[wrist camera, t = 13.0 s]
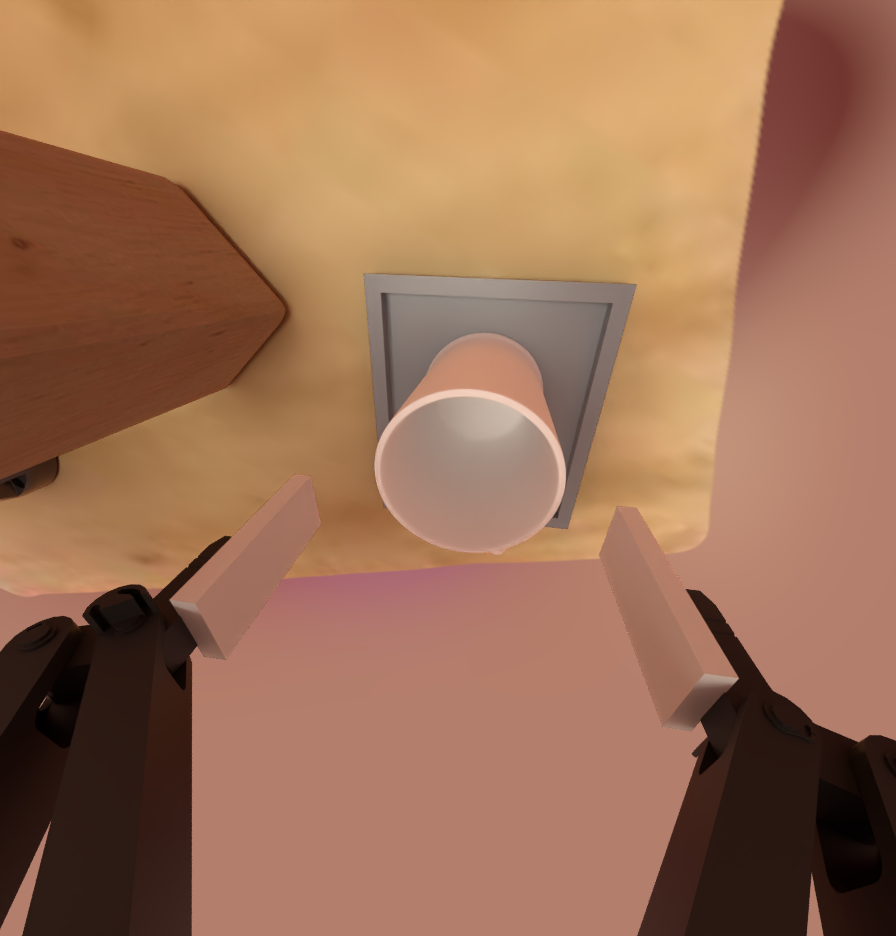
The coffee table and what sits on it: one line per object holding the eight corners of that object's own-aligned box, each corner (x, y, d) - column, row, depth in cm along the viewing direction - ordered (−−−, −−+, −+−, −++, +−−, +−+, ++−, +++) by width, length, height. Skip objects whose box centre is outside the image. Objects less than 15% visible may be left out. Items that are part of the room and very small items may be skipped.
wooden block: (297, 310, 24) (-222, 401, 7) (228, 391, 28) (-201, 573, 11) (175, 172, 21) (-1345, -299, 4) (118, 286, 25) (-722, 311, 8)
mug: (546, 477, 27) (573, 603, 17) (444, 485, 29) (411, 603, 18) (539, 321, 21) (573, 365, 11) (413, 343, 23) (340, 398, 13)
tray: (389, 495, 31) (383, 507, 30) (373, 273, 22) (363, 273, 20) (564, 515, 29) (567, 529, 28) (626, 283, 20) (636, 284, 19)
